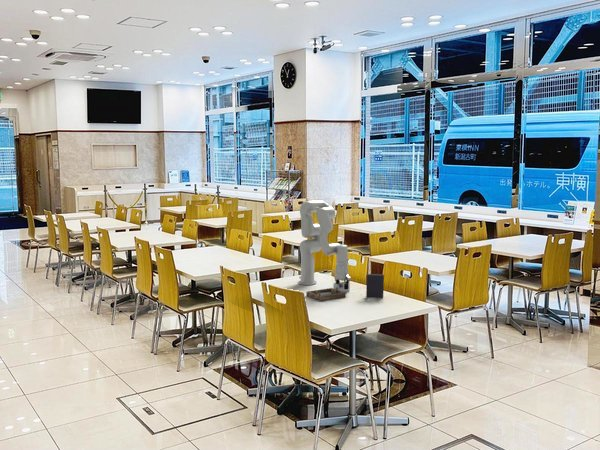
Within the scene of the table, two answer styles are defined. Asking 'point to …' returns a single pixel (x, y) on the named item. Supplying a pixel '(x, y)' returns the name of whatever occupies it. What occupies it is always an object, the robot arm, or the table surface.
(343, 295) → the tray
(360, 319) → the table surface
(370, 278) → the calculator
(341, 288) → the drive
